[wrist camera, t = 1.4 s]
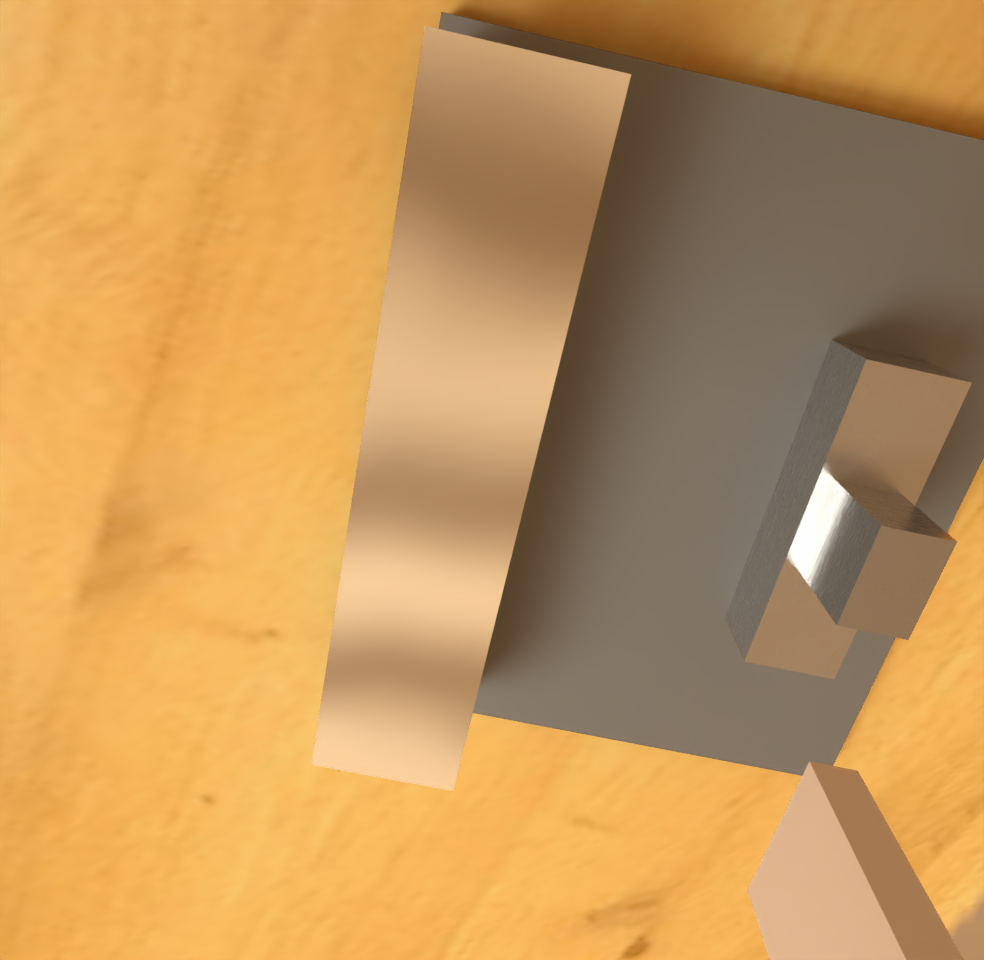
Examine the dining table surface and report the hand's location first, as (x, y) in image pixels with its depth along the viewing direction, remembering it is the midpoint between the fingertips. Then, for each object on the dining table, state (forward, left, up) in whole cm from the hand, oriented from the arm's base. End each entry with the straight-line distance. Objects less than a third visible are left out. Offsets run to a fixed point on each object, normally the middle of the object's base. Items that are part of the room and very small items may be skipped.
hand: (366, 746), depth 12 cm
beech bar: (-1, 0, -14) cm, 14 cm away
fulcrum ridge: (-1, +12, -15) cm, 19 cm away
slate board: (-1, +7, -15) cm, 17 cm away
